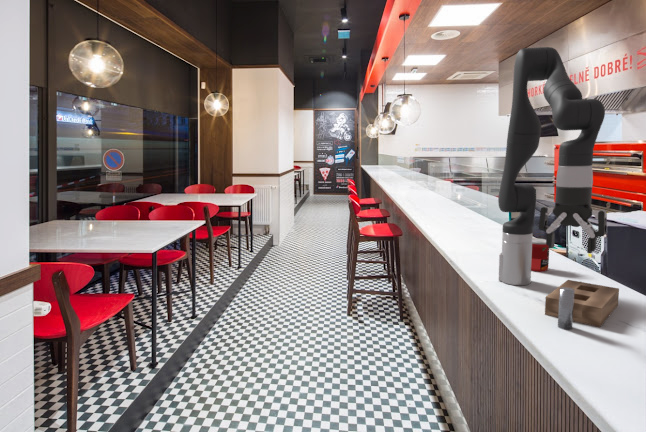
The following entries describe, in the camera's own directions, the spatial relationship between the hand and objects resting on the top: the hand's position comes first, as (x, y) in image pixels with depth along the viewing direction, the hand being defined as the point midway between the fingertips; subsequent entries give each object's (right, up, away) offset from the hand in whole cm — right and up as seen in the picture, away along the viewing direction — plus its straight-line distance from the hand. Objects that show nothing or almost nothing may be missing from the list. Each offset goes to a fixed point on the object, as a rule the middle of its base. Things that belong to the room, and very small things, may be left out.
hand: (570, 250), depth 104 cm
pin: (0, -20, +3) cm, 20 cm away
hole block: (+11, -18, +14) cm, 25 cm away
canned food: (+19, -12, +54) cm, 58 cm away
